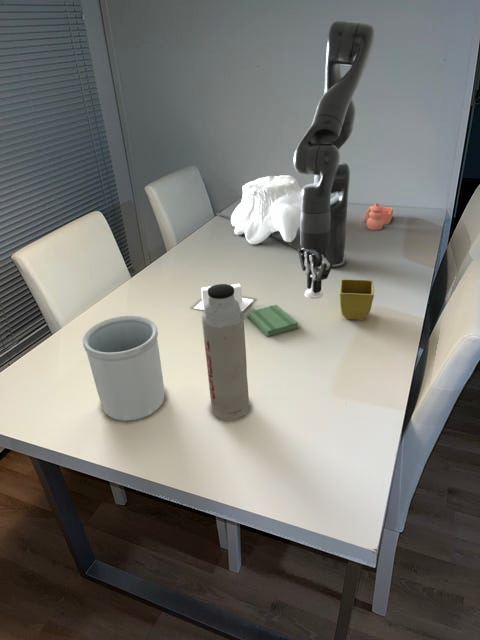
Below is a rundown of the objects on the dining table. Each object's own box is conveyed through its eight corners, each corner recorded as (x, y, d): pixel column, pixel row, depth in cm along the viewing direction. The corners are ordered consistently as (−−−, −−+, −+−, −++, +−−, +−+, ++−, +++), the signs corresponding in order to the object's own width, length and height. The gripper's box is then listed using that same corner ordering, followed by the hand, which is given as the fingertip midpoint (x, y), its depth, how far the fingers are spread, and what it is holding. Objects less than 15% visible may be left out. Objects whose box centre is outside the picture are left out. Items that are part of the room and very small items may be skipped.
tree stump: (266, 220, 226) (258, 170, 217) (338, 219, 204) (332, 164, 195) (213, 251, 199) (201, 195, 189) (289, 254, 177) (280, 192, 168)
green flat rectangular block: (248, 317, 137) (248, 311, 137) (276, 309, 140) (276, 304, 140) (267, 336, 128) (267, 330, 127) (297, 327, 131) (297, 322, 130)
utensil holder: (170, 416, 102) (159, 345, 93) (98, 429, 100) (79, 358, 91) (165, 376, 115) (154, 311, 106) (100, 387, 112) (84, 321, 104)
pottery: (369, 215, 210) (371, 192, 205) (392, 217, 206) (394, 194, 201) (361, 229, 196) (362, 205, 191) (385, 231, 192) (387, 206, 187)
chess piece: (324, 291, 132) (325, 257, 127) (321, 299, 128) (322, 264, 123) (306, 290, 133) (307, 255, 129) (302, 298, 129) (303, 263, 124)
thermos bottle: (212, 421, 100) (198, 300, 86) (211, 397, 107) (198, 281, 93) (251, 418, 100) (243, 296, 86) (247, 394, 107) (240, 278, 93)
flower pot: (371, 324, 130) (374, 294, 126) (338, 322, 132) (339, 293, 127) (370, 309, 138) (373, 280, 133) (339, 307, 139) (340, 278, 135)
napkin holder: (192, 308, 144) (190, 291, 141) (210, 292, 153) (209, 275, 150) (238, 316, 138) (237, 298, 135) (254, 299, 147) (253, 282, 144)
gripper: (344, 232, 117) (340, 296, 126) (313, 217, 128) (312, 277, 137) (317, 238, 115) (315, 303, 123) (288, 222, 126) (288, 283, 134)
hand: (313, 289), depth 130 cm, fingers closed on chess piece
